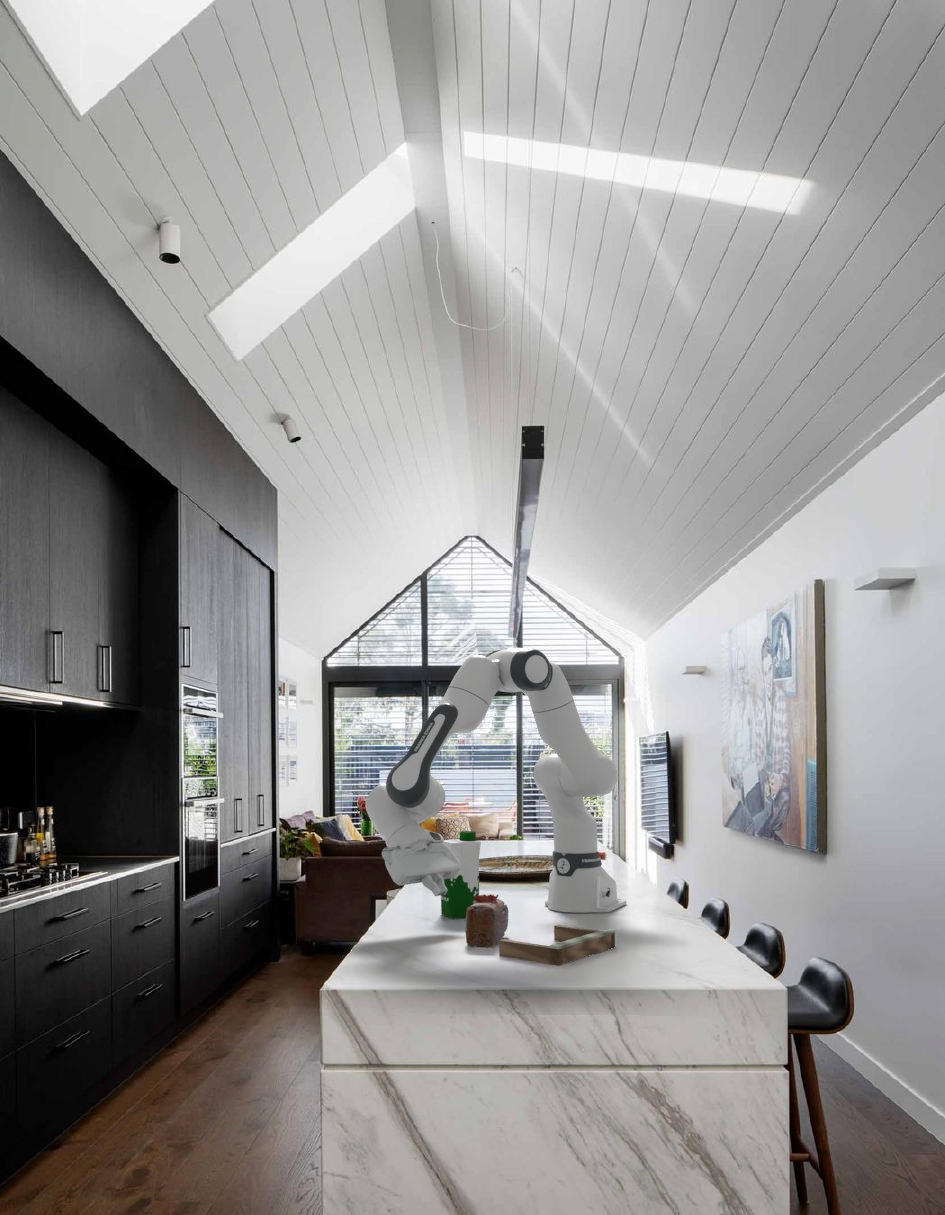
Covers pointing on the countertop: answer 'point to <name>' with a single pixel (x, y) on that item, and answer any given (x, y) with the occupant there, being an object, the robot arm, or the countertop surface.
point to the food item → (486, 921)
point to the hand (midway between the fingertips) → (442, 893)
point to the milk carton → (462, 876)
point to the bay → (561, 946)
